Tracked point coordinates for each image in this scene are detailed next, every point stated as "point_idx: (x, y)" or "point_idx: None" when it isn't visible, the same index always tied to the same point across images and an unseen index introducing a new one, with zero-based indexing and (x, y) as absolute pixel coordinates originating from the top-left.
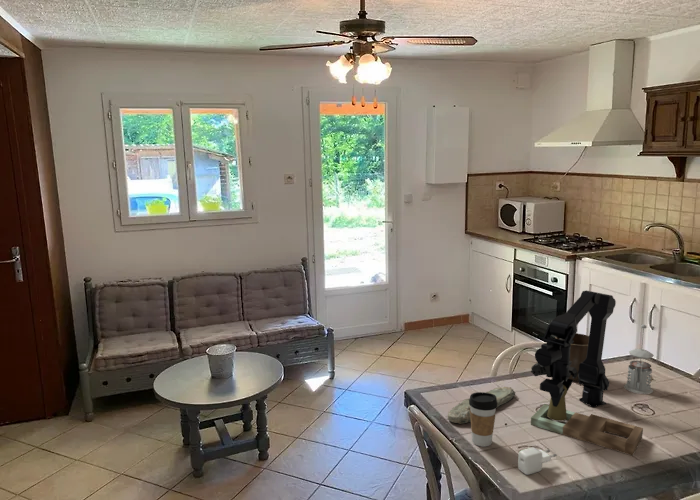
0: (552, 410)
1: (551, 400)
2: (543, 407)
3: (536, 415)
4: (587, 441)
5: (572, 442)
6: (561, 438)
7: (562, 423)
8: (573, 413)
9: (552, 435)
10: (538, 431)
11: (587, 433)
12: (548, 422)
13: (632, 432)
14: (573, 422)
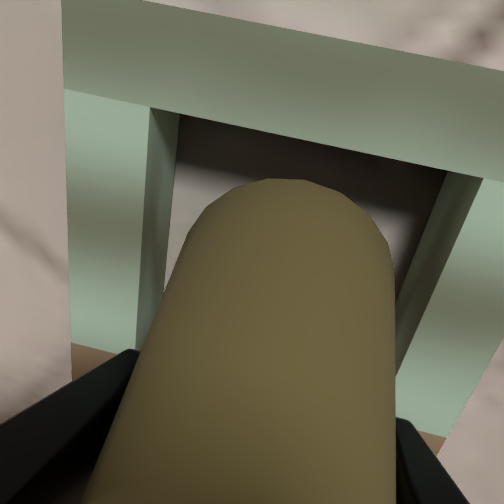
0: (165, 292)
1: (154, 364)
2: (485, 102)
3: (164, 49)
4: None
5: (37, 360)
6: (40, 296)
7: (134, 338)
8: (413, 424)
9: (40, 233)
10: (26, 109)
11: None
12: (69, 217)
13: None
14: None
